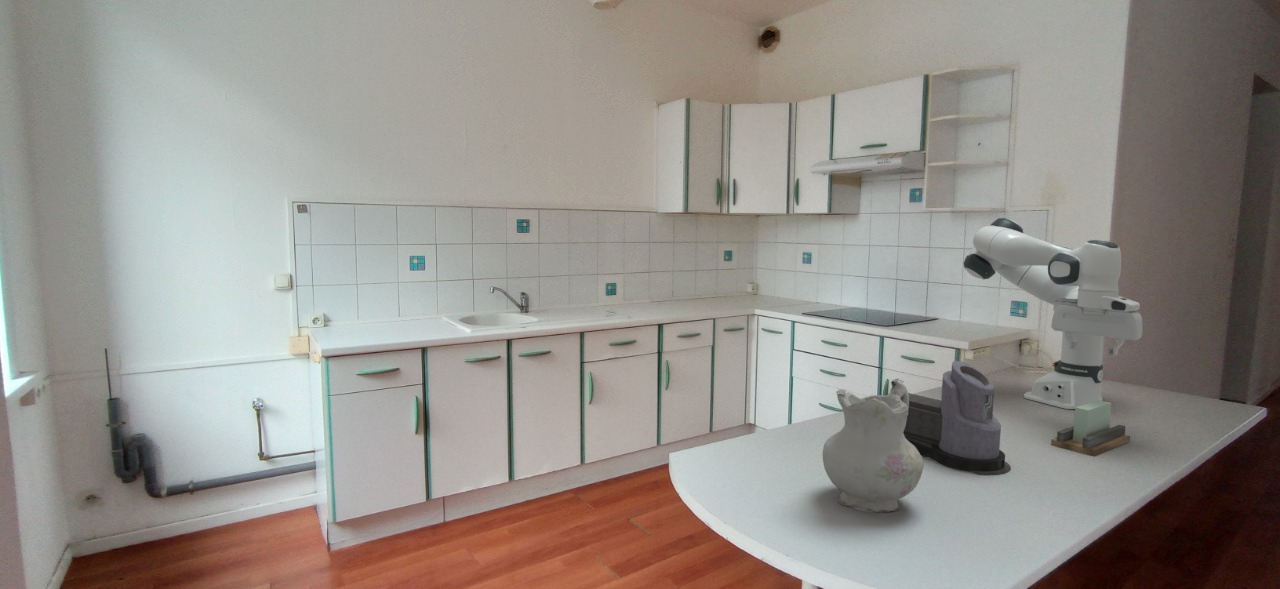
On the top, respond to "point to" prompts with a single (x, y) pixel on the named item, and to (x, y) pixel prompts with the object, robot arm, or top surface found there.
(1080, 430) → the door panel
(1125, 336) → the robot arm
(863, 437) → the ceramic pitcher
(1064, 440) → the bottom track
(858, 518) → the top surface
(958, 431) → the juicer
